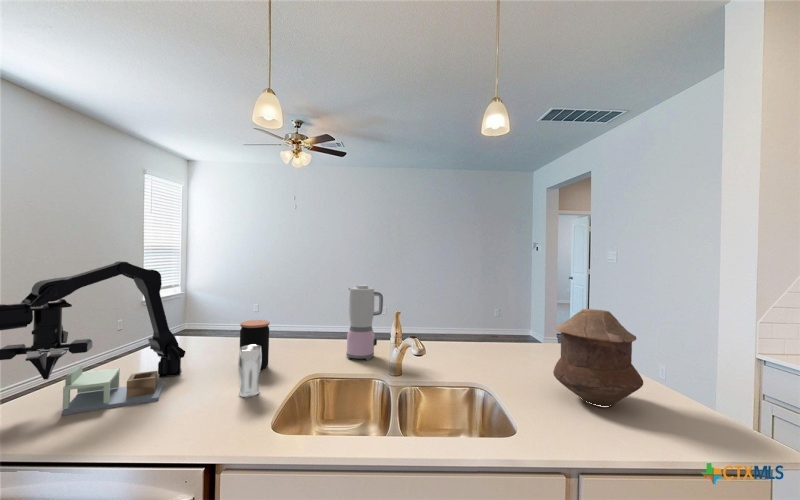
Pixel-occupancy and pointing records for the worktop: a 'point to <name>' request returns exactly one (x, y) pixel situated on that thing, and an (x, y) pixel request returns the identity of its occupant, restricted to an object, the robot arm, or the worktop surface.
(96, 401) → the grey base plate
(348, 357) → the blender
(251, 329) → the coffee jar
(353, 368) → the worktop surface
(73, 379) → the hood
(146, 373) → the sleeve
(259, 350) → the beer glass
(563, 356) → the pottery vessel
